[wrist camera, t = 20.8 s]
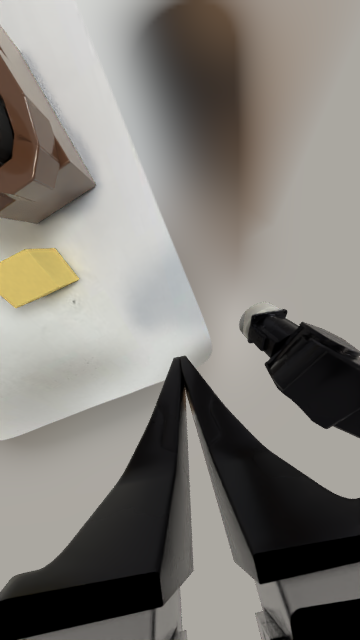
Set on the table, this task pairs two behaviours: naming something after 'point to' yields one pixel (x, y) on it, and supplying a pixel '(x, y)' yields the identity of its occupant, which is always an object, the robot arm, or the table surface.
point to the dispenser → (34, 147)
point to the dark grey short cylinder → (5, 135)
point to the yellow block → (33, 275)
